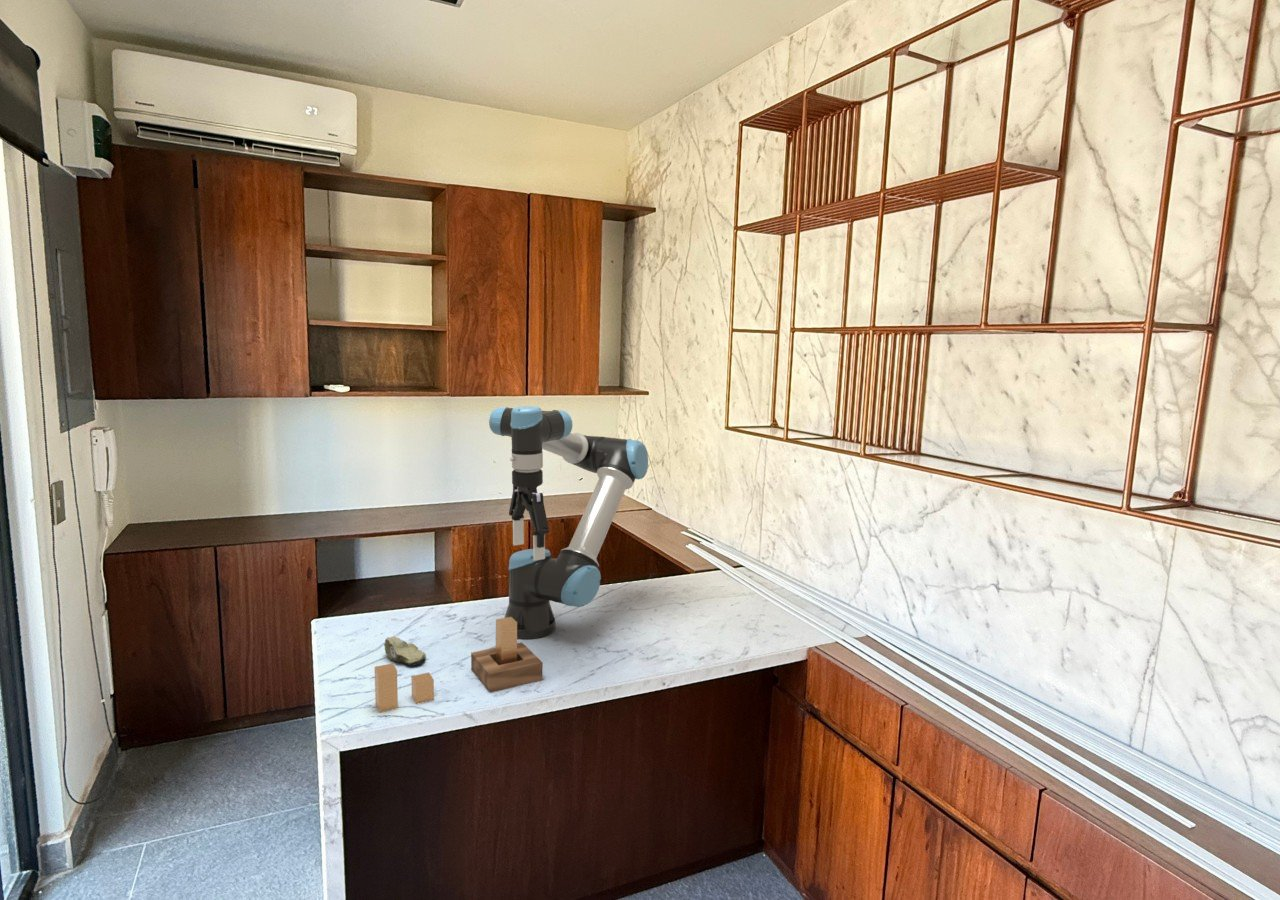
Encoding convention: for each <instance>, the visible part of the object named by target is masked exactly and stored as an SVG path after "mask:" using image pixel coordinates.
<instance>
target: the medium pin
mask: <svg viewBox="0 0 1280 900" xmlns="http://www.w3.org/2000/svg"><path fill="white" fill-rule="evenodd" d="M374 693H375V694H374V695H375V697H374V698H375V699H374V700H375V702H374V703H375V706H376V708H377V710H378V711H377V712H378V713H379V712H380V713H384V712H388V711H392V709H393V710H397V709H398V708H399V701H398V698H399V697H398V696H399V694H398V693H399V692H398V670H397V668H396V666H395V664H394V663H387V664H383V665H378V666H374ZM396 708H397V709H396ZM387 710H388V711H387ZM383 711H384V712H383Z"/></svg>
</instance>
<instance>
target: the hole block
mask: <svg viewBox="0 0 1280 900" xmlns="http://www.w3.org/2000/svg"><path fill="white" fill-rule="evenodd" d="M470 656H471V657H470V658H471V659H470V663H471V665H470V667H471V668H470V669H471V671H472V673H473V674H474V675H475V676H476V677H477V678H478V680H479V681H480V682H481V684H482V685H483V686H484V687H485V689H486V690H487V691H488V693H493V692H497V691H500V690H506V689H509V688H514V687H518V686H523V685H527V684H530V683H534V682H538V681H543V669H544V668H543V661H542V660H541V659H540V658H539V657H538V656H537V655H536V654H535V653H533V652H532V650H531V649H529V647H527V646H526V645H525V644H524V643H523V642H522V641H520V642H517V661H516V662H512V663H507V664H503V665H498V664H497V663H496V647H492V648H487V649H482V650H476V651H473V652H470Z"/></svg>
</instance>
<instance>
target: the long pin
mask: <svg viewBox="0 0 1280 900" xmlns="http://www.w3.org/2000/svg"><path fill="white" fill-rule="evenodd" d="M517 643H518V638H517V622H516V621H515V620H514V619H513V618H512V617H507V618H504V617H503V618H497V619H495V648H496V663H497V664H498V665H503V664H507V663H512V662H516V661H517Z"/></svg>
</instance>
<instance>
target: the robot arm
mask: <svg viewBox="0 0 1280 900" xmlns="http://www.w3.org/2000/svg"><path fill="white" fill-rule="evenodd" d="M488 423H489V428H490V431H491V432H492V433H493V434H495V435H496V436H497V435H498V436H501V437H505V436H506V437H509V438H511V457H510V459H509V461H510V462H511V467H512V469H513V470H512V471H511V482H512V493H511V500H510V506H509V510H508V514H509V515H508V516H510V517H511V519H512V545H513V546H515V547H516V546H520V545H525V526H524V525H525V524H524V523H525V521H524V519H525V515H524V514H525V511H527V512H528V514H529V517H530V521H531V524H532V527H533V532H532V547H533V548H529V549H523V550H519V551H516V552H514V553H512V554H511V556H510V557H509V562H508V568H507V569H508V604H507V605H508V606H507V608H506V611H505V615H504V617H503V618H507V617H512V618H513V619H514V620H515V621H516V622H517V639H521V640H522V639H523V640H525V639H527V640H530V639H531V640H533V639H538V638H539V639H540V638H544V637H546V636H548V635H551V634H552V633H554V632H555V631H556V618H555V615H554V610H553V609H552V605H551V602H555V603H559V604H563V605H565V606H569V607H575V608H577V607H578V608H579V607H581V608H582V607H584V606H586V605H588V604H590V603H592V601H593V600H594V599H595V597H596V596H597V594H598V592H599V589H600V586H601V582H600V581H601V579H602V576H601V572H600V569H599V567H600V564H599V562H598V559H597V558H598V555H599V553H600V551H601V548H602V546H603V544H604V543H605V539H606V537H607V534H608V532H609V530H610V527H611V524H612V522H613V520H614V518H615V515H616V513H617V510H618V508H619V506H620V503H621V501H622V499H623V496H624V494H625V492H626V491H627V490H630V489H631V488H632V487H633V485H634V482H635V481H636V480H642V479H643V478H645V476H646V474H647V472H648V467H649V457H648V456H649V455H648V451H647V447H646V446H645V444H644V443H643V442H641V441H640V440H636V439H631V438H629V439H626V438H618V437H617V438H616V437H608V436H607V437H606V436H597V435H596V436H594V435H585V434H582V433H579V432H573V433H572V430H573V420H572V417H571V415H570V414H569V413H568V412H567V411H566V410H562V409H559V410H557V409H553V410H542V409H541V407H539V406H531V405H530V406H529V405H528V406H527V405H525V406H516V407H515V406H514V407H507V406H506V407H496V408H495V409H493V410H492V411H491V413H490V415H489V419H488ZM543 450H544V451H548V452H549V453H552V454H555V455H557V456H560V457H562V458H563V460H564V461H565V462H566V463H569V464H570V465H573V466H575V467H578V468H580V469H583V470H585V471H588V472H591V473H594V474H597V475H596V476H597V477H598V480H597V483H596V485H595V487H594V489H593V491H592V493H591V496H590V498H589V500H588V502H587V505H586V506H585V509H584V511H583V512H582V513H583V514H582V516H581V519H580V520H579V523H578V525H577V527H576V529H575V531H574V534H573V537H572V538H571V540H570V543H569V545H568V546H567V547H565V548H562V549H560V552H559V554H558V556H557V558H554V557H551V551H550V550H549V549H548V548H547V549H546V538H545V537H546V536H545V535H546V534H548V533H550V529H549V523H548V518H547V514H546V508H545V504H544V503H545V502H544V493H543V492H538V487H539V486H542V485H543V483H544V480H543V479H544V477H543V474H544V473H543V472H544V471H543V470H542V468H543V466H544V461H543V460H544V459H543V456H544V455H543Z"/></svg>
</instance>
